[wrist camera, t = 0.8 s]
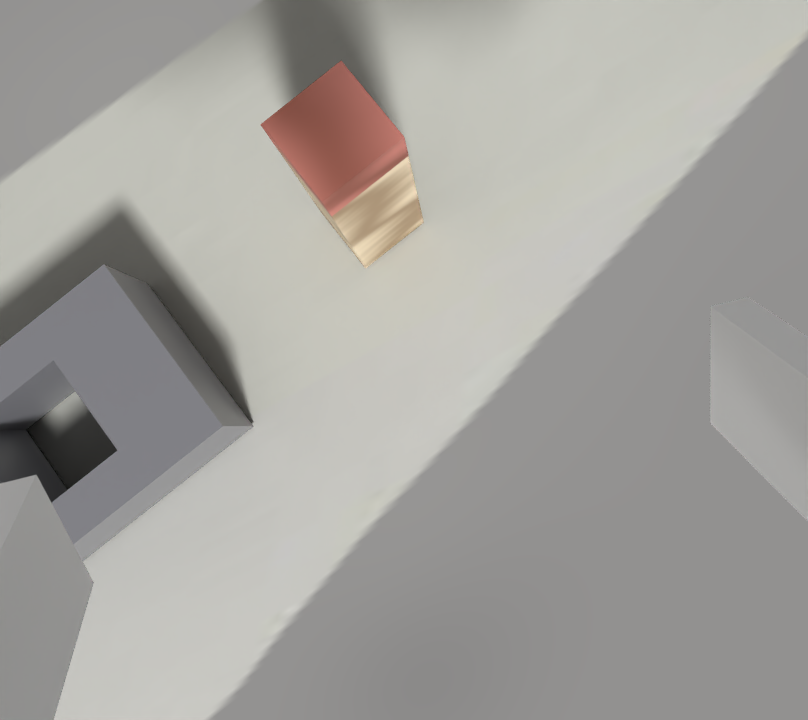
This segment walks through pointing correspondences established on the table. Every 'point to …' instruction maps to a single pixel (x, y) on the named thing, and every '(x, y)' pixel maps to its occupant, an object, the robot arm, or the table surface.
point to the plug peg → (349, 162)
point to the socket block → (113, 402)
